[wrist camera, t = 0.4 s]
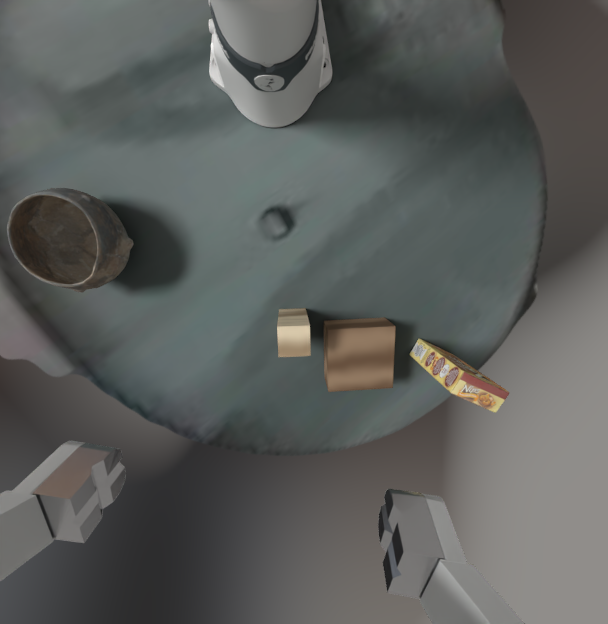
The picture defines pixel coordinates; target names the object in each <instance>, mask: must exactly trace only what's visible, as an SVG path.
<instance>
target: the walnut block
mask: <svg viewBox="0 0 608 624" xmlns="http://www.w3.org/2000/svg"><path fill="white" fill-rule="evenodd" d="M395 327H396V326H395V325H393V324H392V323H391V322H390V321H388V320H387V319H386V318H367V319H347V320H327V321H324V369H325V380H326V384H327V388H328V391H329V392H333V391H349V390H366V389H382V388H393V369H394V348H395Z"/></svg>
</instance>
